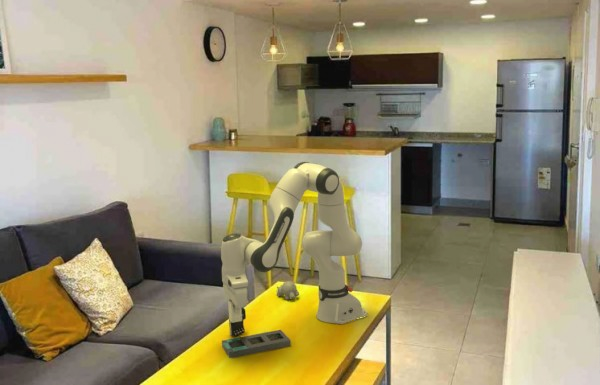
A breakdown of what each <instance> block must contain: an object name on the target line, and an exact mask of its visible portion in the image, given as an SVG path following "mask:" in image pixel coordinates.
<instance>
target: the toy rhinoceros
mask: <svg viewBox="0 0 600 385" xmlns="http://www.w3.org/2000/svg"><path fill="white" fill-rule="evenodd" d="M275 291H276V296H277V297H278V298H280V297H282V296H283V295H284V300H286V301H288V300H293V299H295V298H296V297H299V296H300V292H299V291H298V289H297V285H296V284H295V282H294V281H292V280H287V281H285V282H283V283H282V284H280V286H276V290H275Z"/></svg>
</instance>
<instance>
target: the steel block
mask: <svg viewBox="0 0 600 385" xmlns="http://www.w3.org/2000/svg"><path fill="white" fill-rule="evenodd" d="M227 306H228V321H229V320H230V321H231V322H232V323H233V322H239V321H242V310H241V308H240V313H239V314H235V312H234V309H235V304H234V303H233V302H232V301H231V300H230V299H229V298H228V300H227Z"/></svg>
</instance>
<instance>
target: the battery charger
mask: <svg viewBox="0 0 600 385" xmlns="http://www.w3.org/2000/svg"><path fill="white" fill-rule="evenodd" d="M241 310H242V321H239V322H233V323H232V322H231V321H230V320H229V319H228V325H229V326H228V327H229V335H230V337H237V336H238V337H239V336H241V335H242V334H244V333H245V332H246V329H245V326H244V320H246V319H247V315H246V309H245V307H242V308H241Z"/></svg>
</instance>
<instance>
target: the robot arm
mask: <svg viewBox="0 0 600 385" xmlns="http://www.w3.org/2000/svg"><path fill="white" fill-rule="evenodd" d="M306 191H310V192H314V193H317V216H318V219H319V221H320V222H321V223H322V224H323V225H325V226H327V227H329V229H330V230H313V231H307V232H306V233H305V234H304V236H302V239H301V248H302V249H303V252H305V254H306V255H308V256H309V257H311V258H312V260H313V261H314V262H315V264H316V266H317V269H318V276H319V277H318V278H319V285H318V292H317V293H318V306H317V307H318V308H317V312H316V316H315V317H316V319H317V320H319V321H321V322H323V323H328V324H329V323H332V324H338V325H345V324H348V323H350V322H349V321H351V322H353V321H352V320H354V321H356V320H355V319H357V318H360V317H364V316H367V317H368V313H367V310H366V309H364V307H362V306H363V305H362V303H361V301H360V300H359V298H357V297H356V296H354V295H353V294H351V293H352V292H353V290H354V288H353V287H351V286H348V285H347V284H346V282H345V281H346V277H345V276H346V270H345V268H344V267H343V266H342V264H340V263H338V262H336V261H335V260H333V259H332V257H350V256H351V257H352V256H356V255H359V253H360V252H361V251H362V246H363V241H362V240H363V239H362V237H361V235H360V234H359V233H358V232H357V231H355V230H354V229H353V228H352V227H351V226H350V225H349V224H348V222H347V220H346V214H345V196H344V195H345V194H344V189H343V183H342V180H341V178H340V176H339V175H338V173H337V172H336V171H335V170H334V169H332V168H330V167H326V166H325V165H321V164H318V163H316V164H315V163H312V162H307V161H300V162H299V163H297V164H296V165H294V167H293V168H289V169H288V170H287V171H286V172H285V173H284V175H283V176H282V177H281V178H280V180H279V181H278V183H277V184H276V186H275V187H274V189H273V190H272V193H271V195H270V197H269V199H268V204H269V208H270V211H271V212H272V215H273V217H274V220H273V221H274V222H273V225H272V227H271V229H270V232H269V233H268V236H267V238H266V240H265V241H264V242H262V241H260V240H258V239H254V238H249V237H246V236H244V235H243V234H241V233H231V234H228V235H225V237H223V238H222V240H221V246H220V248H221V249H220V250H221V251H220V259H221V263H222V266H221V281H222V283H223V284H222V290H223V293H224V294H225V295H226V296H227V298H228V300H229V299H230V300H231V301H232V302H233V303H234V304H235V309H234V312H235V314H239V313H240V308H242V307H243V308H246V307H247V304H248V286H249V280H248V278H247V274H246V266H247V265H250V266H251V267H253V268H254V269H255V270H256V271H258V272H260V273H268V272H270V271H272V270H273V269H274V268H275V267H276V265H277V263H278V262H279V257H280V253H281V249H282V248H283V244H284V242H285V240H286V238H287V236H288V233H289V231H290V229H291V227H292V224H293V222H294V217H295V212H296V210H297V207H298V206H299V204H300V202H301V200H302V198H303V196H304V194H305V192H306ZM364 318H365V317H364ZM347 322H348V323H347Z"/></svg>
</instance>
